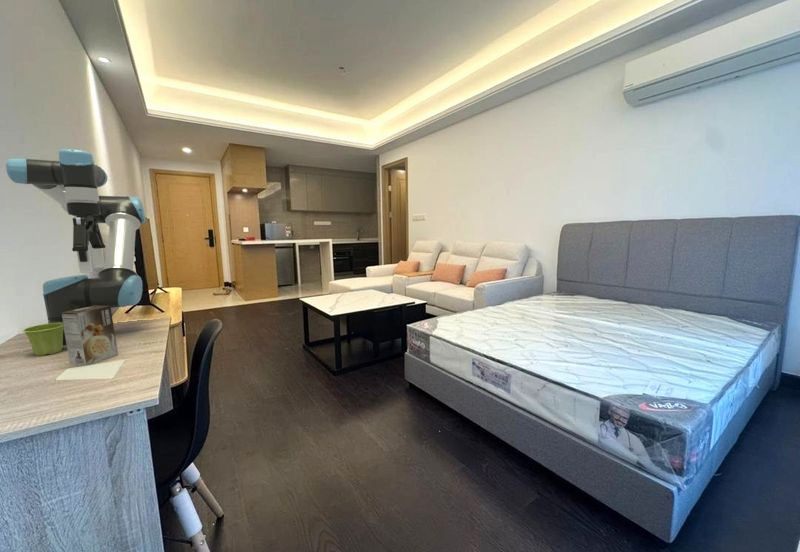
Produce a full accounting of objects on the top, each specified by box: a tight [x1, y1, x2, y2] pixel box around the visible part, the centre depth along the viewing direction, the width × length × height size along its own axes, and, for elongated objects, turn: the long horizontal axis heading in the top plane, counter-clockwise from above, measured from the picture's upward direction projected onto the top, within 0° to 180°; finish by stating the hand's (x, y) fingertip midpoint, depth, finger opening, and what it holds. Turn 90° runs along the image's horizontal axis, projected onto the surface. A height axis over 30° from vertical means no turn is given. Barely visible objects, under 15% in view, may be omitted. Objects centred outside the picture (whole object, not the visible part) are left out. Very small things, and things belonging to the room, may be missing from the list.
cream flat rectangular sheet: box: [55, 359, 126, 381], centre depth 87 cm, size 18×13×1 cm
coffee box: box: [61, 305, 119, 366], centre depth 98 cm, size 9×6×16 cm
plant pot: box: [22, 323, 64, 357], centre depth 105 cm, size 9×9×9 cm
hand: (93, 270), depth 105 cm, fingers open, 13 cm apart
